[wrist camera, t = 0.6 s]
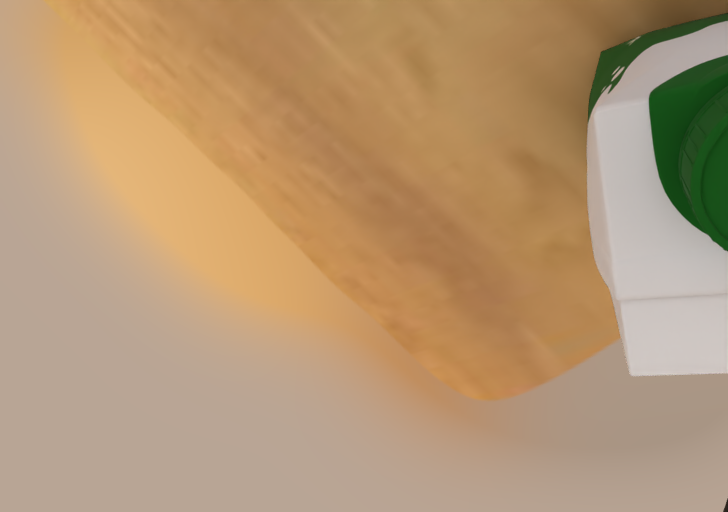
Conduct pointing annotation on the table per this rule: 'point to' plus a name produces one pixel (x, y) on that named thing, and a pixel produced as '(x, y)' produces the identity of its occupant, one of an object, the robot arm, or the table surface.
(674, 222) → the milk carton
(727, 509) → the robot arm
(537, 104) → the table surface
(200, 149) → the table surface
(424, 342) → the table surface
